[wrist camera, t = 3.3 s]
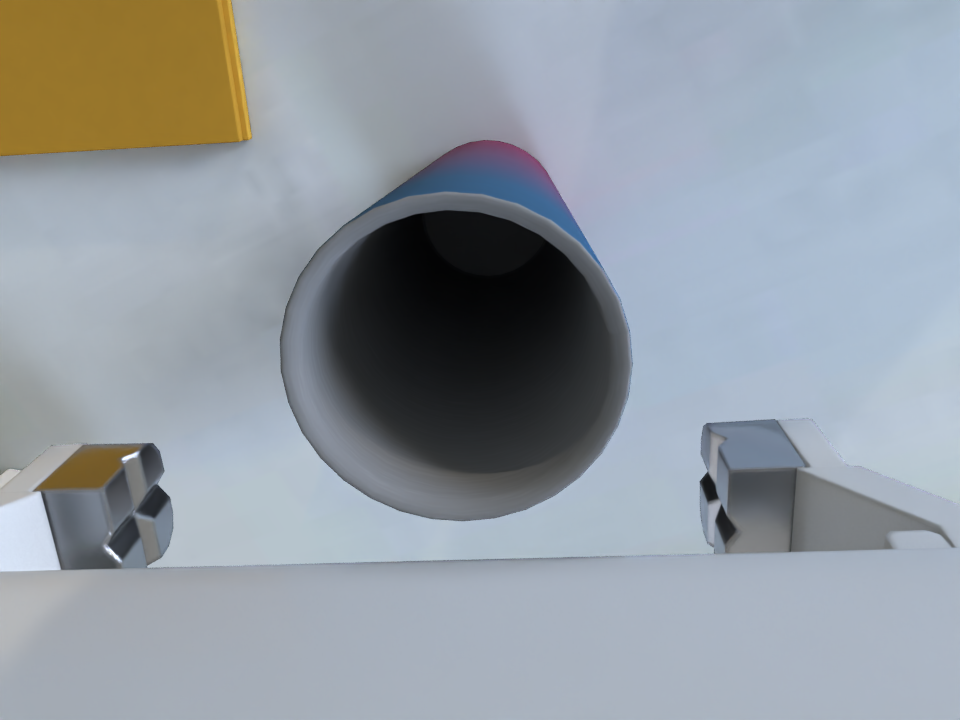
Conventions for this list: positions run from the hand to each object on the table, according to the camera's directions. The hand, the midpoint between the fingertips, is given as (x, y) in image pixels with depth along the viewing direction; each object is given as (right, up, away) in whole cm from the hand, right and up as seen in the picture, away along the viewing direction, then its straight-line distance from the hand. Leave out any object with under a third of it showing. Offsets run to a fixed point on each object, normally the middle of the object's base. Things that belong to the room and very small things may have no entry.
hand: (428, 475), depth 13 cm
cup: (+1, +7, +18) cm, 19 cm away
